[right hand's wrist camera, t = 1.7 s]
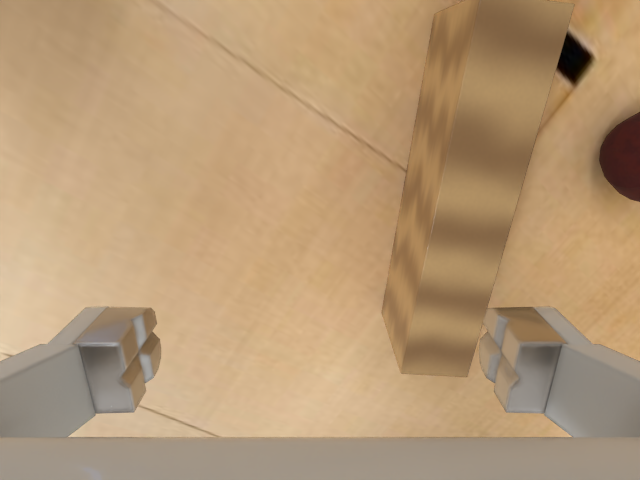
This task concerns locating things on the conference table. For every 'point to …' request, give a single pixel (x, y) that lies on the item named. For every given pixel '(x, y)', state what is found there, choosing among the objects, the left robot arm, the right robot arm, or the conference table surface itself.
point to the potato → (623, 157)
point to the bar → (467, 173)
